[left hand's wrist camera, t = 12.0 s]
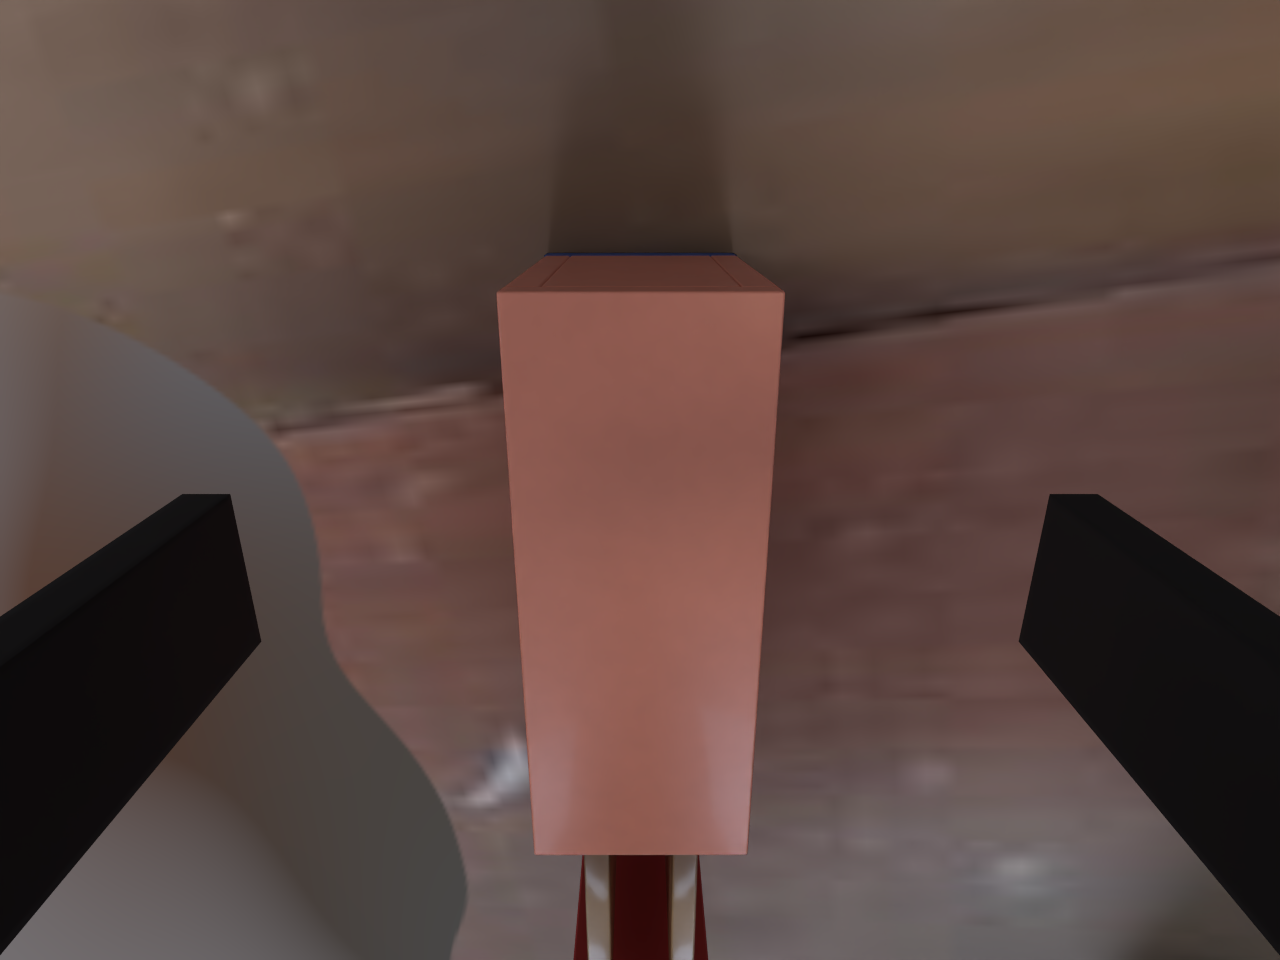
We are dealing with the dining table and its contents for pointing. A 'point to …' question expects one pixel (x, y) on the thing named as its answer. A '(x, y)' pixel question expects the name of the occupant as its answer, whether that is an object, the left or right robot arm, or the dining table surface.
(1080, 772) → the dining table surface
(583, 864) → the drawer
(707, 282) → the cabinet
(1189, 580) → the left robot arm
